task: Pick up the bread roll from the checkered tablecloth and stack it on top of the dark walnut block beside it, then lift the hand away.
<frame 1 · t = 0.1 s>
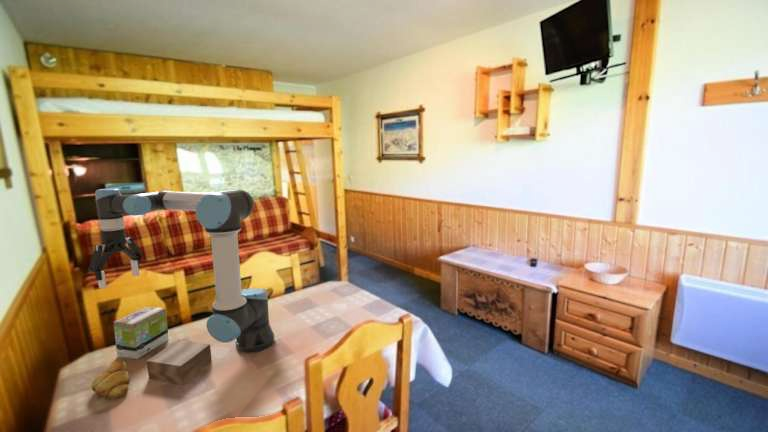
hand: (120, 281, 136), 28 cm above the table, fingers open, 13 cm apart
bread roll: (113, 392, 114), on the table
walnut block: (181, 369, 125), on the table
tea box: (144, 348, 139), on the table
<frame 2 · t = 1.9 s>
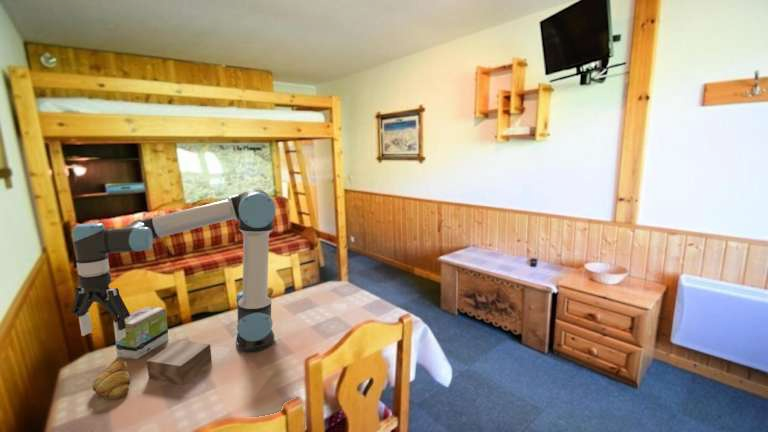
hand: (103, 336, 110), 20 cm above the table, fingers open, 13 cm apart
nothing on the table moved.
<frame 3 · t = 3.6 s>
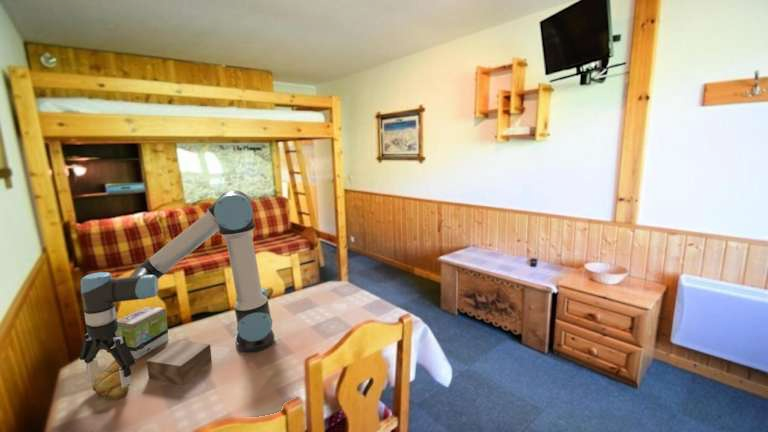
hand: (110, 381, 113), 4 cm above the table, fingers open, 12 cm apart
bread roll: (113, 392, 114), on the table, touching gripper
everything else where it was.
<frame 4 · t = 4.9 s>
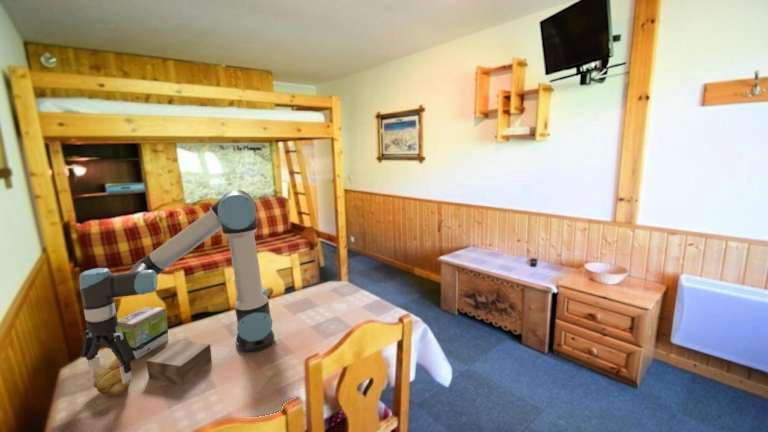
hand: (112, 378, 113), 5 cm above the table, fingers closed on bread roll, 12 cm apart
bread roll: (114, 389, 114), point 1 cm above the table, touching gripper
everything else where it was.
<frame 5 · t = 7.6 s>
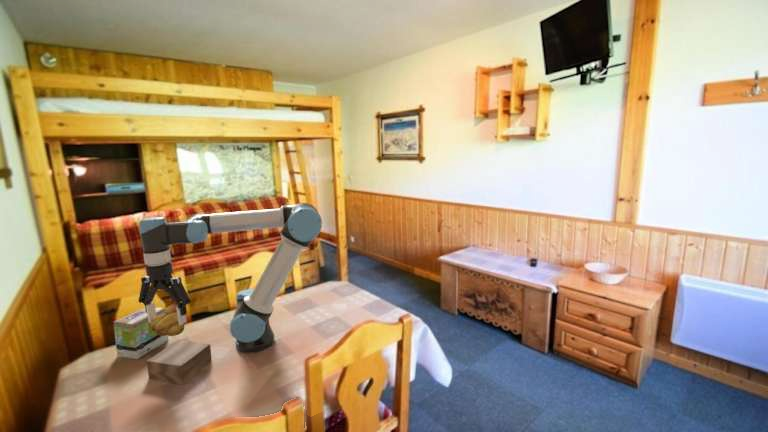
hand: (167, 322, 120), 20 cm above the table, fingers closed on bread roll, 12 cm apart
bread roll: (170, 332, 121), point 16 cm above the table, touching gripper
everything else where it was.
when the fingers open (11 cm above the table, at t = 10.2 s): bread roll stays where it is, resting on walnut block.
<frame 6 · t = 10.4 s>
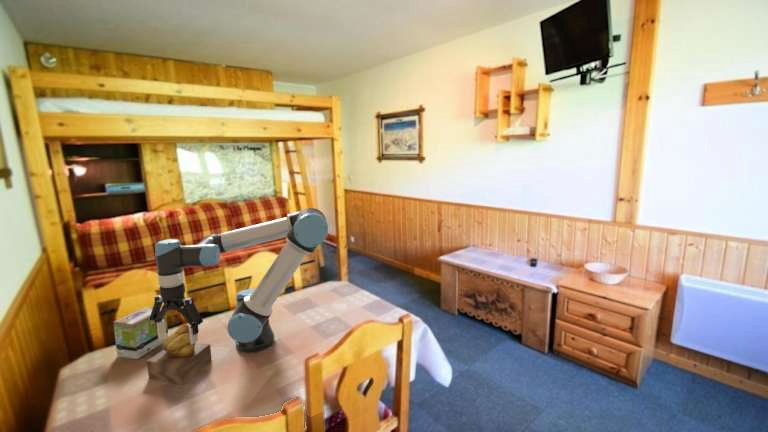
hand: (178, 340, 123), 12 cm above the table, fingers open, 13 cm apart
bread roll: (180, 352, 124), point 7 cm above the table, touching walnut block
everything else where it was.
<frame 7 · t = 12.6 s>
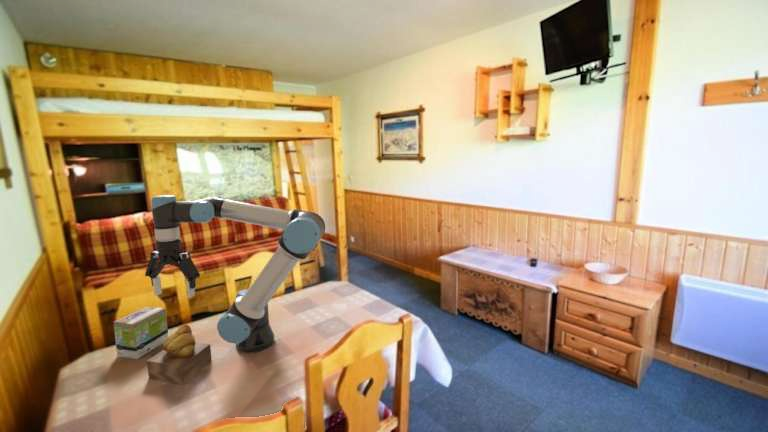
hand: (174, 295, 125), 27 cm above the table, fingers open, 13 cm apart
nothing on the table moved.
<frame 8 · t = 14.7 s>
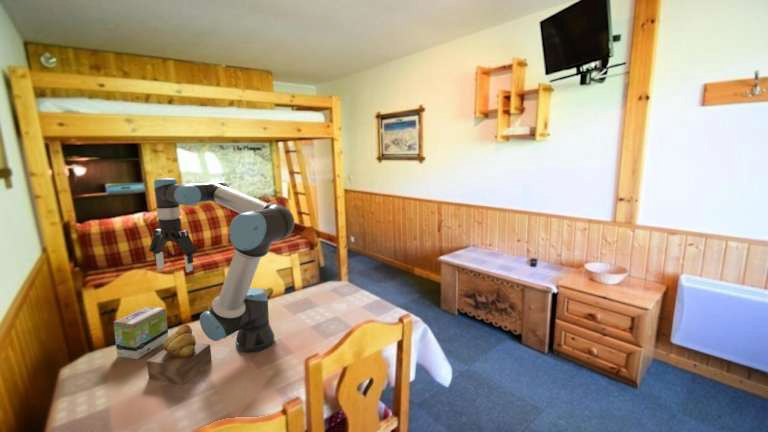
hand: (175, 269, 138), 32 cm above the table, fingers open, 13 cm apart
nothing on the table moved.
at the end: bread roll inside the target area on the walnut block (0.6 cm from its centre), point 6.8 cm above the walnut block's base; bread roll tilted 0°; the gripper is holding nothing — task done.
